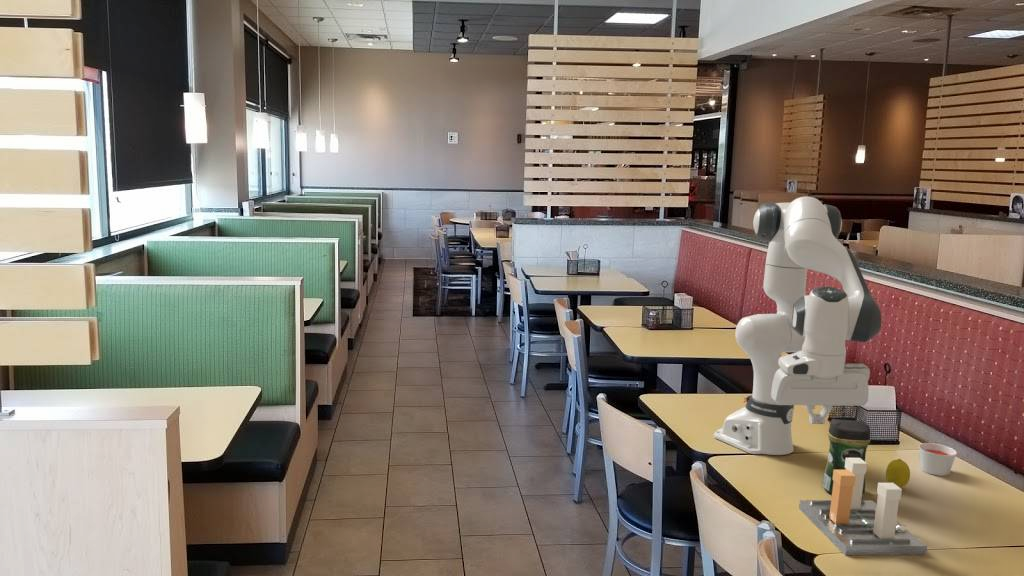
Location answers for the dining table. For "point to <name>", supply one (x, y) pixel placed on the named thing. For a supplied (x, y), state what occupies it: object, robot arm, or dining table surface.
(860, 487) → the cream knob left
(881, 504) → the cream knob right
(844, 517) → the tan tall block
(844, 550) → the console
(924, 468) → the white ramekin
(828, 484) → the coffee jar
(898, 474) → the lemon
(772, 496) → the dining table surface
